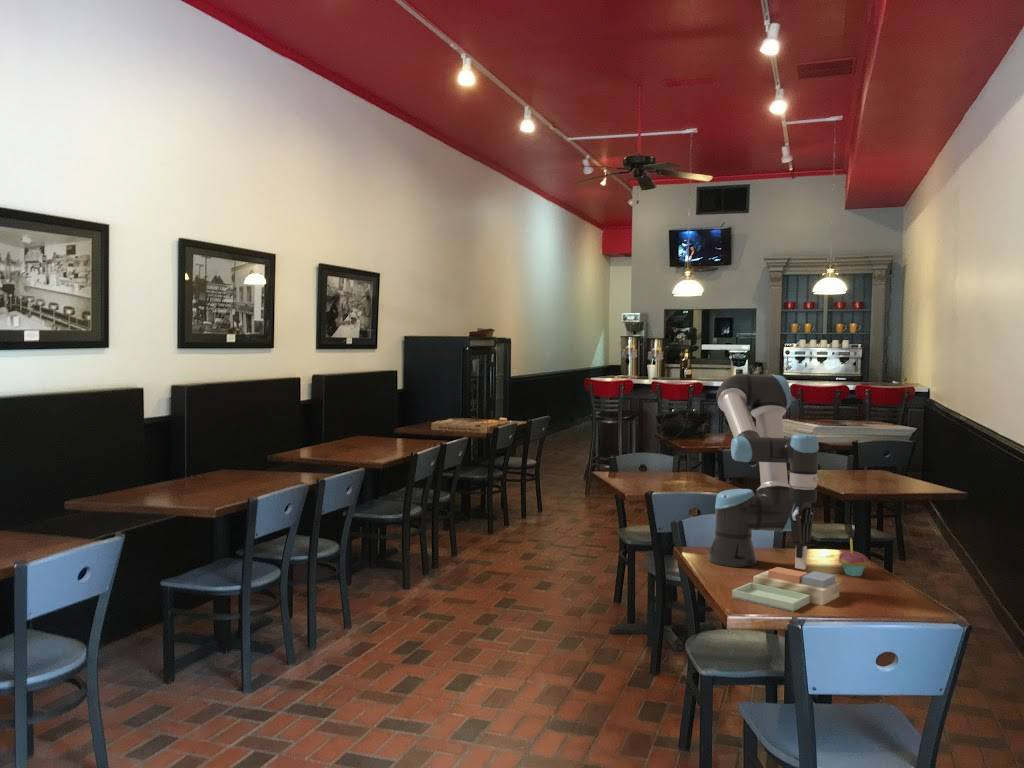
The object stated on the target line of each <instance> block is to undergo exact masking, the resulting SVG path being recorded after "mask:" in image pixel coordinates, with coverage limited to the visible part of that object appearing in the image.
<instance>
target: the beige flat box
mask: <svg viewBox="0 0 1024 768" xmlns="http://www.w3.org/2000/svg"><path fill="white" fill-rule="evenodd" d="M771 569H772V568H770V569H769V570H771ZM752 579H753V581H752V583H755V584H760V585H765V586H770V587H774V588H779V589H784V590H788V591H793V592H798V593H803V594H807V595H810V603H809V604H815V605H819V606H825V605H826V604H828V603H830V602H833V601H834V600H836V599H838V598H840V582H838V581H835V582H834V583H832V584H830V585H828V586H827V587H825V588H820V587H815V586H810V585H805V584H802V583H800V584H798V583H793V582H788V581H783V580H778V579H773V578H768V570H765V571H763V572H761V573H759V574H756V575H753V578H752Z"/></svg>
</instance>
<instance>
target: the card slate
mask: <svg viewBox="0 0 1024 768" xmlns="http://www.w3.org/2000/svg"><path fill="white" fill-rule="evenodd" d="M836 576H837V575H836V574H832V573H827V572H821V571H816V570H812V572H809V573H808V574H807V575H804V576H802V584H805V585H810V586H815V587H820V588H825V587H827V586H828V585H830V584H832V583H834V582H836V581H837V579H836V578H837V577H836Z"/></svg>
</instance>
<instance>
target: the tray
mask: <svg viewBox="0 0 1024 768" xmlns="http://www.w3.org/2000/svg"><path fill="white" fill-rule="evenodd" d="M731 593H732V594H731V599H735V600H739V601H743V602H749V603H751V604H756V605H760V606H765V607H770V608H772V609H773V608H774V609H779V610H782V611H783V610H784V611H788V612H792V613H794V612H795V611H797V610H799V609H801V608H803V607H805V606H807V605H809V604H811V603H810V595H807V594H803V593H798V592H793V591H788V590H784V589H779V588H774V587H770V586H765V585H760V584H755V583H753V582H748V583H745V584H744V585H742V586H739V587H736V588H734V589H732V591H731Z"/></svg>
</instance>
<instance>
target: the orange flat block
mask: <svg viewBox="0 0 1024 768" xmlns="http://www.w3.org/2000/svg"><path fill="white" fill-rule="evenodd" d="M770 569H771V570H770ZM770 569H768V570H767V571H768V578H773V579H778V580H783V581H788V582H793V583H798V584H800V583H802V576H804V575H807V574H809V573H808V572H806V571H800V570H795V569H790V568H784V567H781V566H780V567H779V566H776V567H774V568H770Z"/></svg>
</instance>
